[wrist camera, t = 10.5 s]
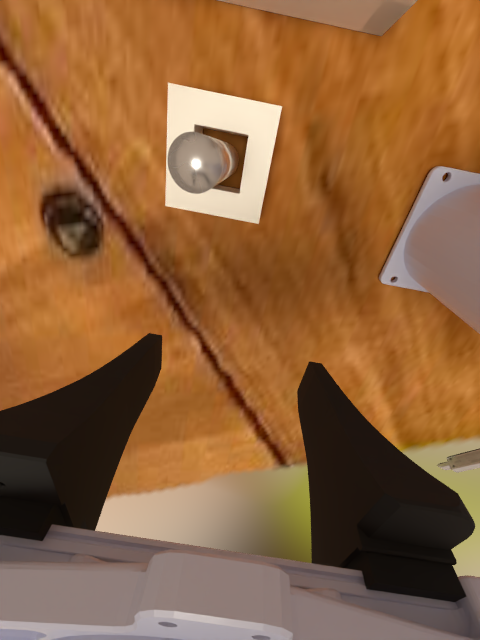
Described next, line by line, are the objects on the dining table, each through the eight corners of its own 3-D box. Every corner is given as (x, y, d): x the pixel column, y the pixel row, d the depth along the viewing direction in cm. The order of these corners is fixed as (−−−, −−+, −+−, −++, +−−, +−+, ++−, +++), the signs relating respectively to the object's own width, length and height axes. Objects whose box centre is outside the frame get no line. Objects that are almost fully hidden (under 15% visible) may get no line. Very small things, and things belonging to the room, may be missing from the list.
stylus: (241, 145, 17) (224, 138, 10) (236, 180, 18) (216, 198, 11) (210, 139, 17) (168, 125, 9) (206, 174, 18) (166, 187, 11)
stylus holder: (279, 112, 16) (282, 106, 14) (258, 216, 19) (258, 223, 17) (180, 92, 16) (168, 82, 14) (176, 200, 19) (165, 205, 17)
